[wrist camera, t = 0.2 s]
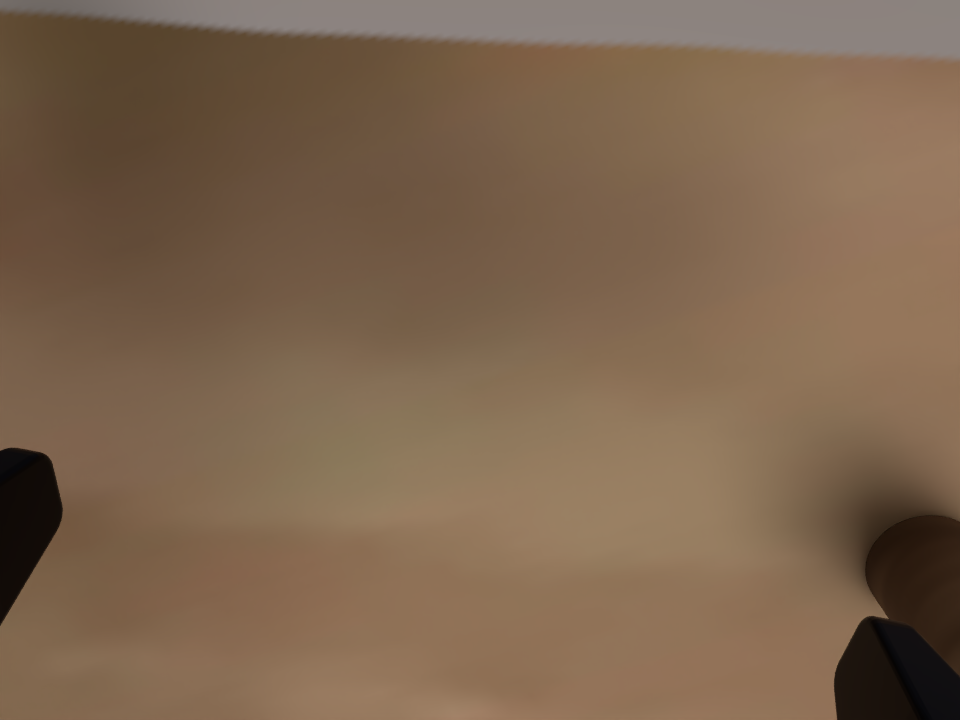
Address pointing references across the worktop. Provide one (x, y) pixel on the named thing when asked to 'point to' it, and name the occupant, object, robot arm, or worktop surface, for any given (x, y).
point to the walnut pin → (921, 580)
